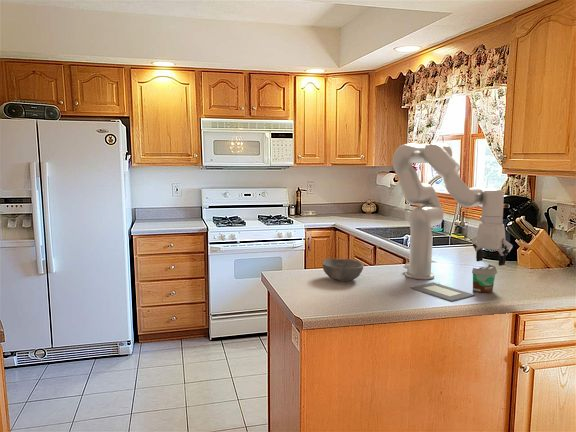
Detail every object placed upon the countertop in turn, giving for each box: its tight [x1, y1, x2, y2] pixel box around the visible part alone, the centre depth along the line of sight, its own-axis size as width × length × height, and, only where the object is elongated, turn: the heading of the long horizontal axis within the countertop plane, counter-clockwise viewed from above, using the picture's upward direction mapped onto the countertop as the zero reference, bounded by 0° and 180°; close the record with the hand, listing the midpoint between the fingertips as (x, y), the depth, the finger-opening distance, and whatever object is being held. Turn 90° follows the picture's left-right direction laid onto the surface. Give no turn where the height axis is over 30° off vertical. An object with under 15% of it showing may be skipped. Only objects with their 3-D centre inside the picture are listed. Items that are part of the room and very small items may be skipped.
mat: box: [410, 282, 475, 303], centre depth 185 cm, size 20×14×1 cm
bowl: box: [322, 258, 365, 282], centre depth 200 cm, size 18×18×8 cm
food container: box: [471, 263, 498, 295], centre depth 185 cm, size 12×6×10 cm, turn 126°
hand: (490, 263), depth 184 cm, fingers open, 9 cm apart
